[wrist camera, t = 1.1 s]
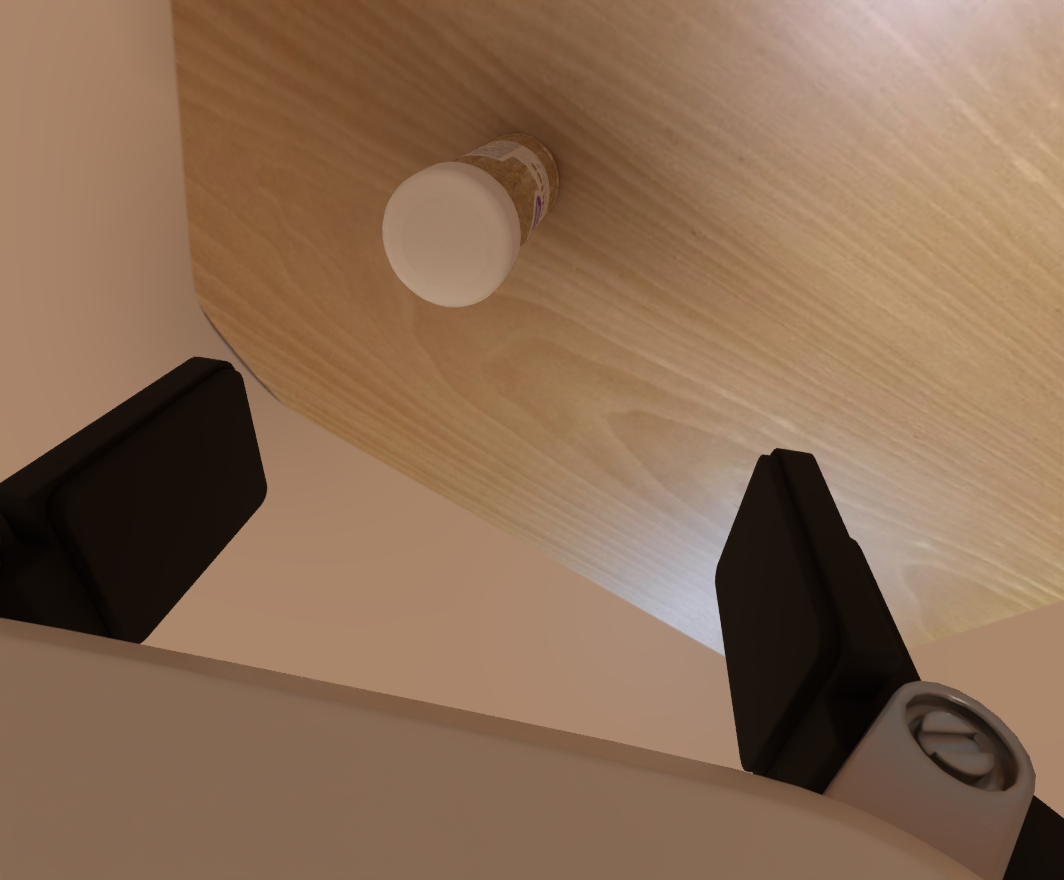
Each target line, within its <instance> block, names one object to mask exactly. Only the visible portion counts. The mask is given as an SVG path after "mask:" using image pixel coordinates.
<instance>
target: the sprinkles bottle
mask: <svg viewBox="0 0 1064 880" xmlns="http://www.w3.org/2000/svg"><path fill="white" fill-rule="evenodd" d="M558 190H559V173H558V168H557V165H556V163H555V160H554V158H553V156H552V154H551V152H550V151H549V150H548V149H547V148H546V146H545V145H544V144H543V143H541V142H540V141H538V140H537V139H535V138H533V137H531V136H529V135H525V134H522V133H513V134H505V135H502V136H499V137H497V138H495V139H494V140H493V141H491V142H490V143H488V144H486V145H483V146H481V147H479V148H477V149H475V150H473V151H471V152H469V153H467V154H465V155H463V156H461V157H458V158H456V159H454V160H453V161H451V162H444V163H438V164H435V165H432V166H430V167H428V168H425V169H423V170H421V171H419V172H418V173H416V174H414V175H413V176H411V177H409V178H408V179H407V180H405V181H404V182H403V183H402V184H401V185H400V186H399V187H398V188H397V189H396V190H395V192H394V193H393V195H392V196H391V198H390V200H389V202H388V204H387V207H386V210H385V213H384V219H383V225H382V234H383V243H384V248H385V251H386V254H387V258H388V260H389V262H390V264H391V266H392V268H393V270H394V272H395V273H396V274H397V276H398V277H399V279H400V280H401V281H402V282H403V283H404V284H405V285H406V286H407V287H408V288H409V289H410V290H411V291H412V292H414V293H415V294H416V295H418V296H419V297H421V298H422V299H424V300H427V301H429V302H431V303H434V304H437V305H441V306H447V307H464V306H469V305H472V304H475V303H478V302H480V301H482V300H484V299H486V298H487V297H489V296H490V295H491V294H492V293H493V292H494V291H495V290H496V289H497V288H498V287H499V286H500V285H501V284H502V282H503V281H504V280H505V279H506V277H507V276H508V274H509V273H510V271H511V270H512V268H513V266H514V264H515V262H516V259H517V257H518V253H519V249H520V247H521V245H523V244H524V243H525V242H526V241H527V240H528V238H529V237H530V235H531V234H532V233H533V231H534V230H535V229H536V227H537V226H538V225H539V223H540V222H541V220H542V219H543V218H544V217H545V216H546V214H547V213H548V212H549V211H550V210H551V208H552V206H553V204H554V202H555V200H556V198H557V195H558Z"/></svg>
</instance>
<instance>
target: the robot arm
mask: <svg viewBox="0 0 1064 880" xmlns="http://www.w3.org/2000/svg"><path fill="white" fill-rule="evenodd" d="M266 493H267V483H266V479H265V474H264V470H263V465H262V461H261V457H260V452H259V447H258V443H257V439H256V434H255V430H254V425H253V421H252V416H251V412H250V407H249V403H248V399H247V394H246V390H245V386H244V381H243V378H242V376H241V374H240V373H239V372H238V371H235V368H234V367H233V366H232V364H231V363H229V362H227V361H222V360H216V359H210V358H203V357H193V358H191V359H189V360H187V361H186V362H184V363H183V364H181V365H180V366H178V367H177V368H175V369H173V370H172V371H170V372H169V373H167V374H166V375H164V376H163V377H161V378H160V379H158V380H157V381H155V382H154V383H152V384H151V385H149V386H148V387H146V388H145V389H143V390H142V391H140V392H138V393H137V394H135V395H134V396H132V397H131V398H129V399H128V400H126V401H125V402H123V403H122V404H120V405H119V406H117V407H116V408H114V409H112V410H111V411H110V412H108V413H106V414H105V415H103V416H102V417H100V418H99V419H97V420H96V421H94V422H93V423H91V424H90V425H88V426H86V427H85V428H83V429H82V430H81V431H79V432H77V433H76V434H74V435H73V436H71V437H70V438H68V439H67V440H65V441H64V442H62V443H61V444H59V445H57V446H56V447H54V448H53V449H51V450H50V451H48V452H47V453H45V454H44V455H42V456H41V457H39V458H38V459H36V460H35V461H33V462H32V463H30V464H29V465H27V466H26V467H24V468H23V469H21V470H19V471H18V472H16V473H15V474H13V475H12V476H10V477H9V478H7V479H6V480H4V481H3V482H1V483H0V880H1064V818H1063V817H1061V816H1060V815H1059V814H1058V813H1056V812H1055V811H1054V810H1052V809H1051V808H1050V807H1049V806H1047V805H1046V804H1045V803H1043V802H1042V801H1041V800H1039V799H1038V798H1037V797H1036V796H1034V795H1033V794H1034V789H1035V777H1036V775H1035V772H1034V769H1033V766H1032V763H1031V760H1030V757H1029V755H1028V754H1027V752H1026V750H1025V749H1024V747H1023V746H1022V744H1021V743H1020V741H1019V739H1018V738H1017V736H1016V735H1015V734H1014V733H1013V732H1012V731H1011V730H1010V729H1009V728H1008V727H1007V726H1006V725H1005V723H1004V722H1003V721H1002V720H1001V719H1000V718H999V717H998V716H996V715H995V714H994V713H993V712H991V711H990V710H989V709H987V708H986V707H985V706H984V705H982V704H981V703H980V702H978V701H977V700H975V699H973V698H971V697H969V696H967V695H966V694H964V693H962V692H960V691H959V690H956V689H954V688H951V687H948V686H945V685H942V684H939V683H934V682H926V681H921V679H920V677H919V675H918V673H917V670H916V668H915V666H914V664H913V662H912V660H911V657H910V655H909V653H908V651H907V648H906V646H905V644H904V642H903V640H902V637H901V635H900V633H899V631H898V629H897V626H896V624H895V622H894V620H893V618H892V615H891V613H890V611H889V609H888V607H887V604H886V602H885V600H884V598H883V596H882V593H881V591H880V589H879V587H878V585H877V582H876V580H875V578H874V576H873V574H872V571H871V569H870V567H869V565H868V563H867V560H866V558H865V556H864V554H863V552H862V549H861V548H860V546H859V545H858V543H857V542H856V541H855V540H853V539H852V538H850V536H849V534H848V532H847V529H846V527H845V525H844V523H843V520H842V518H841V516H840V514H839V511H838V509H837V507H836V504H835V502H834V500H833V498H832V495H831V493H830V491H829V489H828V486H827V484H826V482H825V480H824V477H823V475H822V473H821V471H820V468H819V466H818V464H817V461H816V459H815V457H814V456H813V454H810V453H805V452H799V451H793V450H786V449H780V448H776V449H774V450H773V452H772V453H771V455H764V454H763V455H761V456H760V457H759V459H758V461H757V464H756V466H755V469H754V471H753V474H752V477H751V479H750V482H749V484H748V487H747V490H746V492H745V495H744V497H743V500H742V502H741V505H740V508H739V510H738V513H737V515H736V518H735V521H734V523H733V526H732V528H731V531H730V534H729V536H728V539H727V541H726V544H725V547H724V549H723V552H722V554H721V557H720V559H719V562H718V565H717V569H716V575H715V586H716V593H717V600H718V607H719V614H720V621H721V628H722V635H723V642H724V649H725V656H726V663H727V670H728V677H729V684H730V691H731V697H732V705H733V712H734V719H735V726H736V733H737V740H738V746H739V754H740V760H741V764H742V767H743V769H744V770H745V771H747V772H753V774H751V773H747V772H744V771H740V770H736V769H733V768H728V767H724V766H719V765H715V764H711V763H706V762H702V761H698V760H693V759H689V758H684V757H680V756H676V755H671V754H666V753H662V752H658V751H653V750H649V749H645V748H640V747H636V746H631V745H627V744H623V743H618V742H614V741H609V740H604V739H600V738H595V737H590V736H585V735H581V734H576V733H571V732H566V731H561V730H556V729H552V728H547V727H542V726H537V725H533V724H528V723H523V722H518V721H514V720H509V719H504V718H499V717H495V716H490V715H485V714H480V713H476V712H471V711H466V710H461V709H456V708H452V707H447V706H442V705H437V704H432V703H427V702H423V701H418V700H413V699H408V698H403V697H398V696H393V695H389V694H383V693H378V692H374V691H369V690H364V689H359V688H354V687H350V686H344V685H340V684H335V683H330V682H325V681H320V680H315V679H310V678H306V677H301V676H296V675H291V674H286V673H281V672H276V671H271V670H266V669H261V668H256V667H251V666H246V665H241V664H237V663H232V662H227V661H221V660H216V659H212V658H206V657H201V656H196V655H191V654H186V653H181V652H176V651H171V650H165V649H161V648H156V647H151V646H146V645H141V644H140V643H142V642H143V641H144V640H145V639H146V638H147V637H148V636H149V635H150V634H151V633H152V631H153V630H154V629H155V628H156V627H157V626H158V624H159V623H160V622H161V621H162V620H163V619H164V617H165V616H166V615H167V614H168V613H169V612H170V611H171V609H172V608H173V607H174V606H175V605H176V604H177V602H178V601H179V600H180V599H181V598H182V597H183V595H184V594H185V593H186V592H187V591H188V590H189V588H190V587H191V586H192V585H193V584H194V583H195V581H196V580H197V579H198V578H199V577H200V575H201V574H202V573H203V572H204V571H205V570H206V569H207V567H208V566H209V565H210V564H211V563H212V562H213V560H214V559H215V558H216V557H217V556H218V555H219V554H220V552H221V551H222V550H223V549H224V548H225V547H226V545H227V544H228V543H229V542H230V541H231V539H232V538H233V537H234V536H235V535H236V534H237V533H238V531H239V530H240V529H241V528H242V527H243V526H244V524H245V523H246V522H247V521H248V520H249V519H250V517H251V516H252V515H253V514H254V513H255V512H256V510H257V509H258V508H259V507H260V506H261V504H262V503H263V501H264V499H265V497H266Z"/></svg>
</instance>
